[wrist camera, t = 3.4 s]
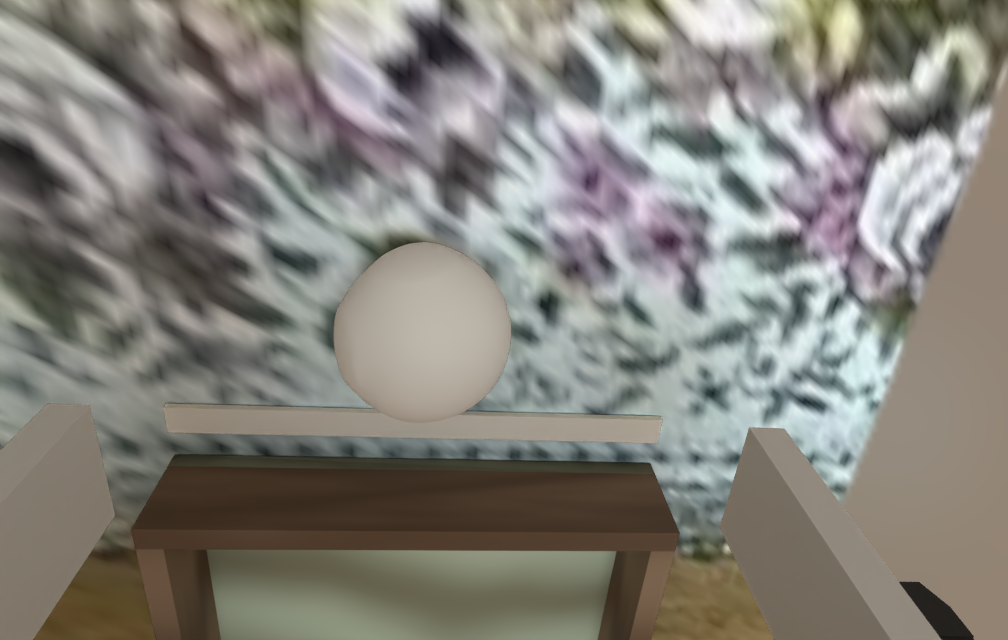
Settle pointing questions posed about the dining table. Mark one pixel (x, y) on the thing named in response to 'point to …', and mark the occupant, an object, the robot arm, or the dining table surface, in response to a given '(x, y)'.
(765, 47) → the dining table surface
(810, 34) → the dining table surface
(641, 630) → the brown wooden tray
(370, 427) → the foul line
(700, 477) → the dining table surface
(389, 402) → the cream egg
